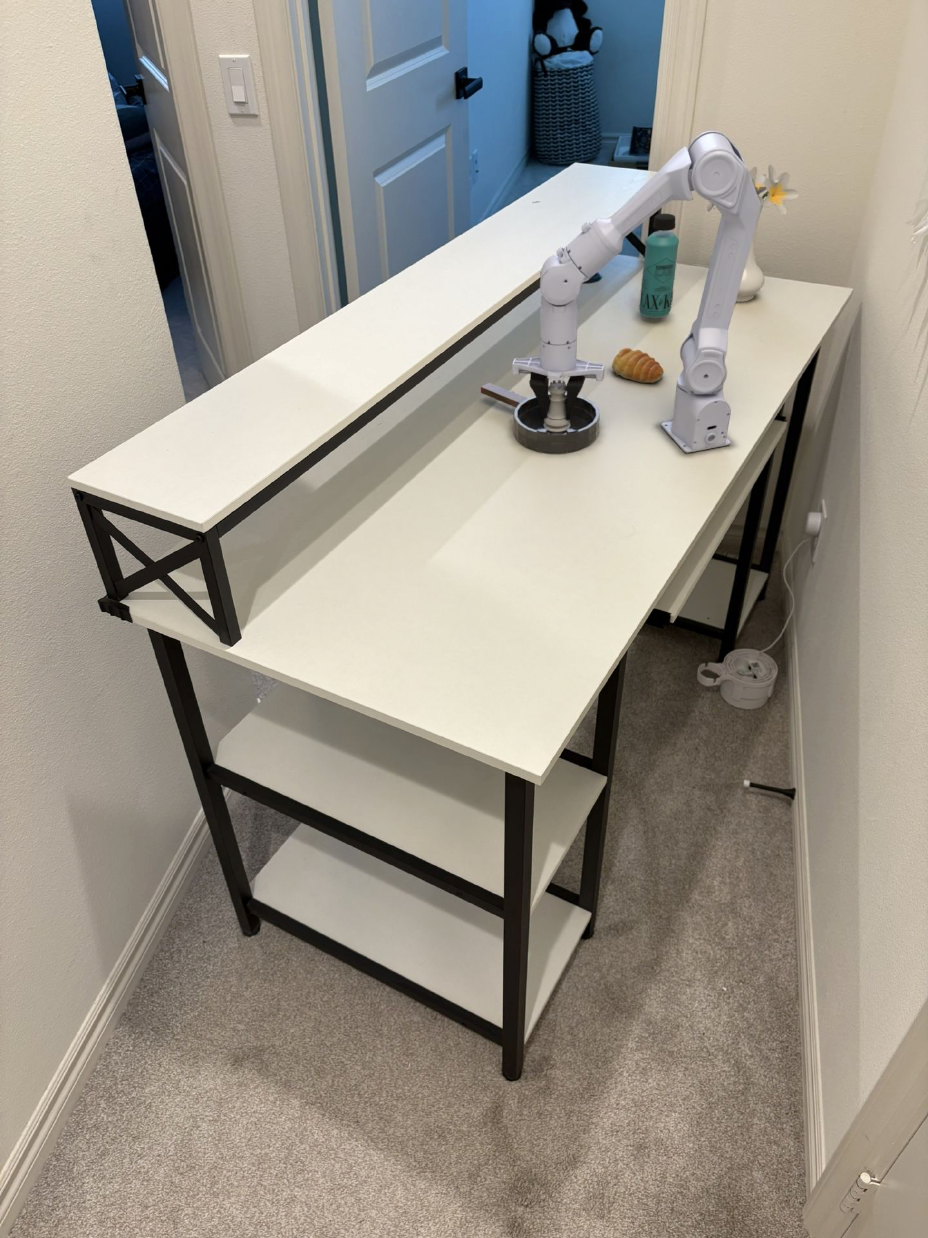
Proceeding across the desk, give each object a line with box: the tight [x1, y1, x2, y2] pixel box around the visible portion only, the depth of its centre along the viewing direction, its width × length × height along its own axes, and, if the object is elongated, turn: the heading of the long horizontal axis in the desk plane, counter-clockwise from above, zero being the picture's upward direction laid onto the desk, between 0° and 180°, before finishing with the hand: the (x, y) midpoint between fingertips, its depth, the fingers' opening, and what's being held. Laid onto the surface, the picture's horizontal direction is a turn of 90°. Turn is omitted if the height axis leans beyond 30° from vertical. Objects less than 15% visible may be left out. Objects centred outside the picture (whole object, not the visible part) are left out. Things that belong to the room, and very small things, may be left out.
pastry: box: [611, 347, 665, 384], centre depth 161 cm, size 9×7×4 cm
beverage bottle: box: [638, 213, 680, 318], centre depth 174 cm, size 6×7×20 cm
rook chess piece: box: [544, 379, 570, 433], centre depth 146 cm, size 4×4×8 cm
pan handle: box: [480, 382, 530, 409], centre depth 153 cm, size 10×2×1 cm, turn 45°
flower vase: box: [706, 164, 800, 303], centre depth 179 cm, size 13×18×25 cm
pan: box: [513, 392, 601, 454], centre depth 148 cm, size 14×14×4 cm
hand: (556, 415), depth 147 cm, fingers closed on rook chess piece, 3 cm apart
